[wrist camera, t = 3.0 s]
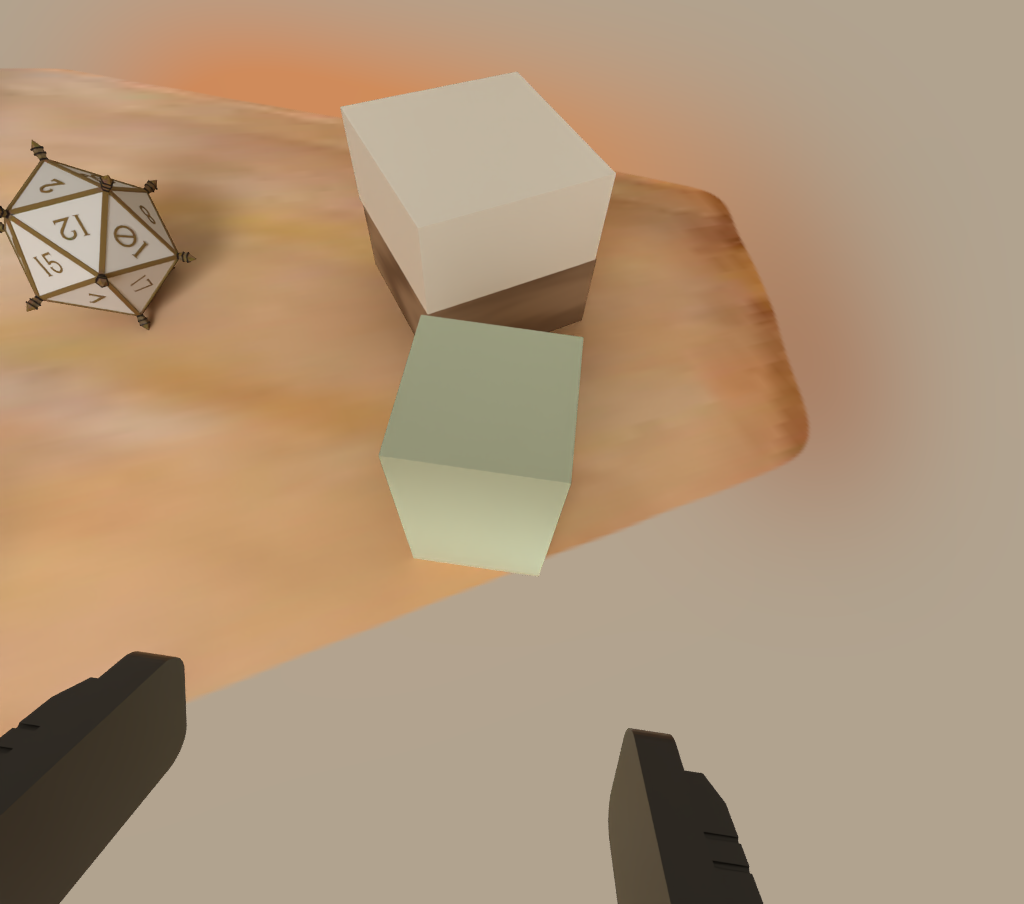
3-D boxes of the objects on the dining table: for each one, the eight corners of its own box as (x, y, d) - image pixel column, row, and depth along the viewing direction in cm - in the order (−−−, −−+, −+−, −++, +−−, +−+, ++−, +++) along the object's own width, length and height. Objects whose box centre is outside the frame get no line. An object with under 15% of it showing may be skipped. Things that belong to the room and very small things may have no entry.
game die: (148, 325, 36) (50, 163, 31) (251, 294, 33) (161, 116, 29) (25, 373, 28) (-129, 168, 23) (149, 337, 26) (4, 103, 21)
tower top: (359, 198, 30) (340, 106, 26) (511, 160, 33) (517, 71, 29) (427, 314, 26) (417, 228, 22) (595, 259, 29) (616, 173, 25)
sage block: (538, 576, 25) (571, 483, 16) (413, 558, 25) (378, 455, 16) (550, 466, 28) (583, 337, 19) (439, 450, 28) (420, 314, 19)
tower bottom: (376, 266, 35) (361, 197, 30) (509, 228, 37) (513, 159, 33) (435, 375, 31) (428, 313, 26) (580, 323, 33) (596, 259, 29)
